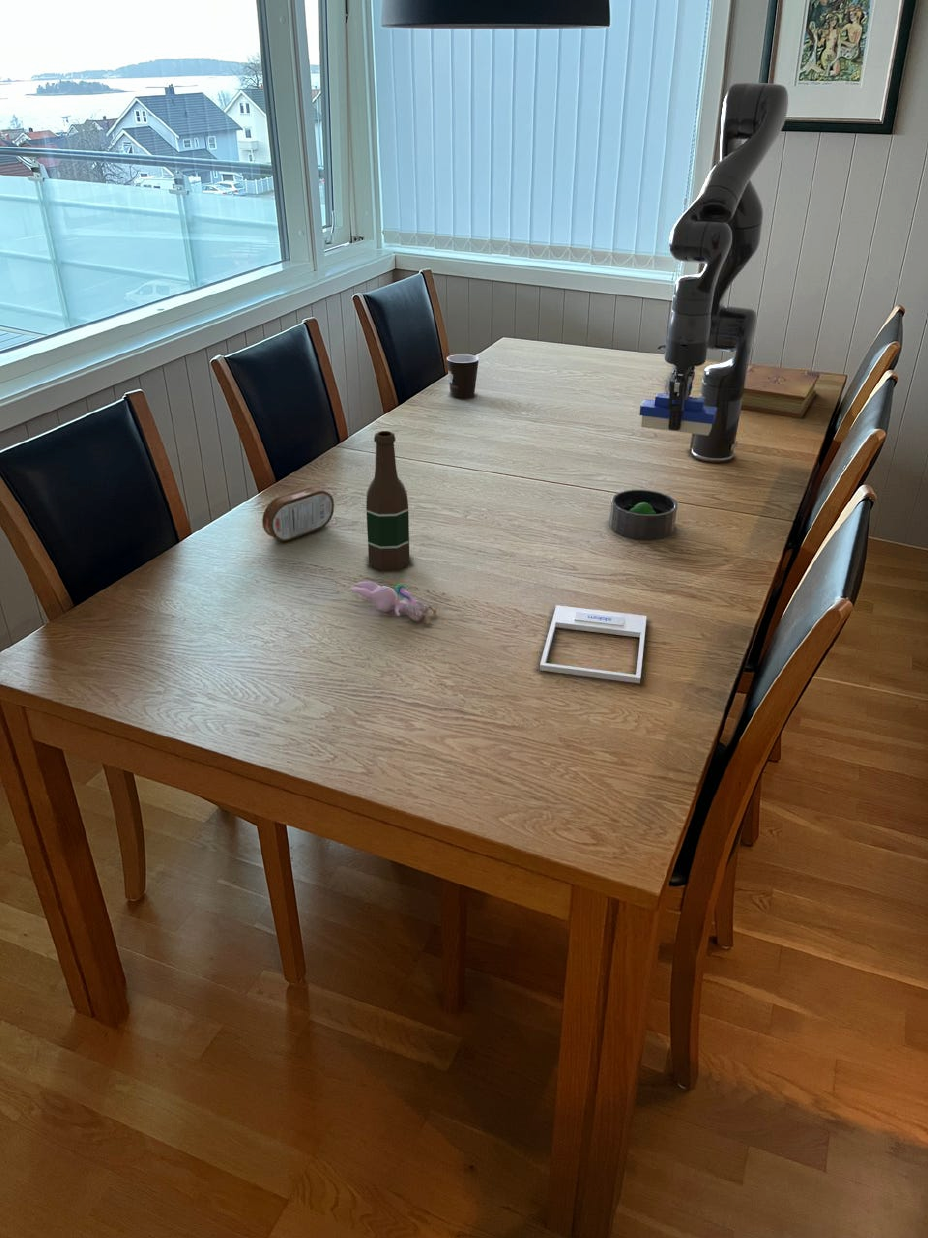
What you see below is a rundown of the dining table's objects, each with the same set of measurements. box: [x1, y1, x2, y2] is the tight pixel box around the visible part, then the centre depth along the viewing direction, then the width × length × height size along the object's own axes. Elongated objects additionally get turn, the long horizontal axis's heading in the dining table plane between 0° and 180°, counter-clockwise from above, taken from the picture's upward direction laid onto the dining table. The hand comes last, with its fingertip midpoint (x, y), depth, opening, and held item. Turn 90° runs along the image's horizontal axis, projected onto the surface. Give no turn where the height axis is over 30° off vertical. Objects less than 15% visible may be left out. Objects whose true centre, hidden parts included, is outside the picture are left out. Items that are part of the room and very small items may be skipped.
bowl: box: [608, 489, 678, 541], centre depth 177 cm, size 12×12×6 cm
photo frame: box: [539, 604, 647, 684], centre depth 141 cm, size 15×1×18 cm
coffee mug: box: [446, 353, 480, 400], centre depth 249 cm, size 12×9×10 cm
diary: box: [741, 364, 821, 419], centre depth 247 cm, size 23×19×6 cm
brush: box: [639, 392, 717, 435], centre depth 177 cm, size 14×5×6 cm, turn 69°
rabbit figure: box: [349, 580, 437, 626], centre depth 148 cm, size 6×6×15 cm
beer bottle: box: [365, 430, 410, 572], centre depth 159 cm, size 8×8×24 cm
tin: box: [261, 485, 335, 542], centre depth 172 cm, size 15×3×8 cm, turn 134°
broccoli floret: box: [628, 502, 657, 515], centre depth 176 cm, size 5×6×5 cm
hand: (676, 424), depth 178 cm, fingers closed on brush, 4 cm apart
